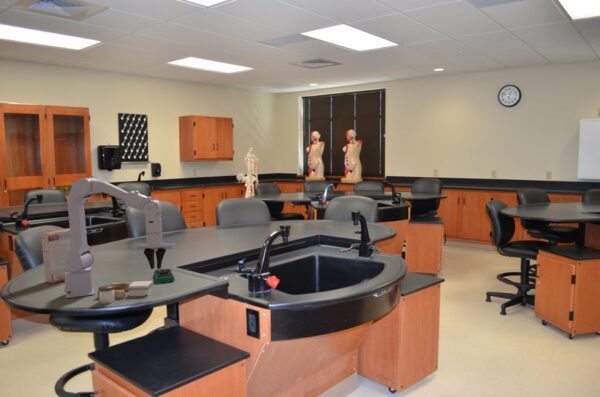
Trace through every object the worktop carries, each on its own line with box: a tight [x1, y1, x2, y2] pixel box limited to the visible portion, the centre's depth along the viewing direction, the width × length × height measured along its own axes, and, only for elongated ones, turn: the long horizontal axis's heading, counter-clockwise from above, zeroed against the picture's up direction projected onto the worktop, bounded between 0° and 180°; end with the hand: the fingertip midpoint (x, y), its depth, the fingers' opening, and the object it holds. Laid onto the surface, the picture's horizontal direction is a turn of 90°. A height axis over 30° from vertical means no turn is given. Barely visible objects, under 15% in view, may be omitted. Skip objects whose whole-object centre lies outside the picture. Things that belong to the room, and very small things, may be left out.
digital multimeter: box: [153, 268, 175, 284], centre depth 196 cm, size 7×15×3 cm, turn 20°
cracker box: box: [40, 228, 71, 284], centre depth 197 cm, size 14×6×21 cm, turn 148°
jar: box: [98, 284, 116, 305], centre depth 165 cm, size 5×5×5 cm
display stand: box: [97, 282, 133, 299], centre depth 175 cm, size 10×11×2 cm
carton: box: [128, 280, 154, 297], centre depth 174 cm, size 7×6×4 cm
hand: (155, 268), depth 173 cm, fingers closed
